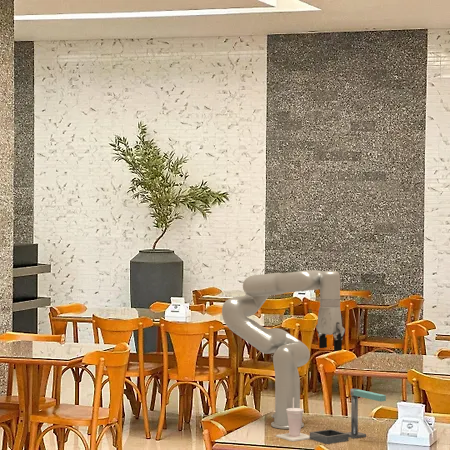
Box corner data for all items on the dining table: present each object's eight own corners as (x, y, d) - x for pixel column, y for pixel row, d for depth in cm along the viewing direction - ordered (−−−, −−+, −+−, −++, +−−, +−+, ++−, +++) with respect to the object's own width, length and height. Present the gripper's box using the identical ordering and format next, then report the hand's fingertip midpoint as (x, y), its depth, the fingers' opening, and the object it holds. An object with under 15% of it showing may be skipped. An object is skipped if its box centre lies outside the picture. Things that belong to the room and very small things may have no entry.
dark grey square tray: (309, 439, 365) (309, 432, 365) (331, 435, 371) (331, 429, 371) (326, 444, 357) (326, 437, 357) (348, 440, 362) (348, 433, 362)
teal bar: (348, 394, 371) (348, 389, 371) (355, 393, 372) (355, 388, 372) (380, 401, 356) (380, 396, 356) (386, 400, 357) (386, 395, 357)
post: (342, 435, 371) (343, 395, 371) (355, 433, 374) (355, 393, 374) (353, 438, 366) (353, 397, 366) (366, 436, 369) (366, 396, 369)
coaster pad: (275, 436, 369) (275, 435, 369) (297, 433, 375) (297, 432, 375) (291, 441, 361) (291, 439, 361) (313, 438, 366) (313, 436, 366)
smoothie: (284, 434, 371) (285, 396, 371) (302, 433, 371) (302, 396, 371) (287, 437, 364) (287, 399, 364) (304, 437, 365) (305, 399, 365)
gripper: (309, 302, 384) (309, 347, 384) (335, 305, 369) (335, 352, 369) (325, 302, 388) (325, 346, 388) (351, 304, 373) (352, 351, 373)
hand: (330, 349), depth 379 cm, fingers open, 9 cm apart
